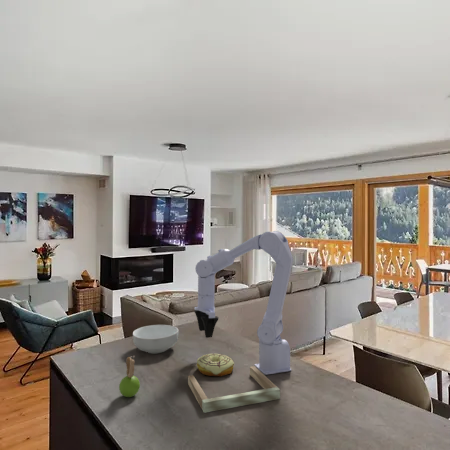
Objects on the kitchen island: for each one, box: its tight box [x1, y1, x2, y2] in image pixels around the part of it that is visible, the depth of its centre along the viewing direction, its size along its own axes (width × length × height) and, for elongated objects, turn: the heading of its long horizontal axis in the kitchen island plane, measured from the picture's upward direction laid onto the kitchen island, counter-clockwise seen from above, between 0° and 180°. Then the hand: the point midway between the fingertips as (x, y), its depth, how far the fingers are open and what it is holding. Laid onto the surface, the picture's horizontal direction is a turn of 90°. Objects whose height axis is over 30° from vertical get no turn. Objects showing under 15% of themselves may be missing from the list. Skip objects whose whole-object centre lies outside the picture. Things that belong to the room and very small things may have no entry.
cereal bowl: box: [132, 324, 179, 354], centre depth 133 cm, size 17×17×7 cm
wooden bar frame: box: [187, 365, 281, 413], centre depth 100 cm, size 21×16×2 cm
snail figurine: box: [118, 355, 141, 398], centre depth 97 cm, size 5×6×12 cm
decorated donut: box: [196, 353, 235, 377], centre depth 114 cm, size 11×12×4 cm
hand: (205, 333), depth 124 cm, fingers open, 7 cm apart
